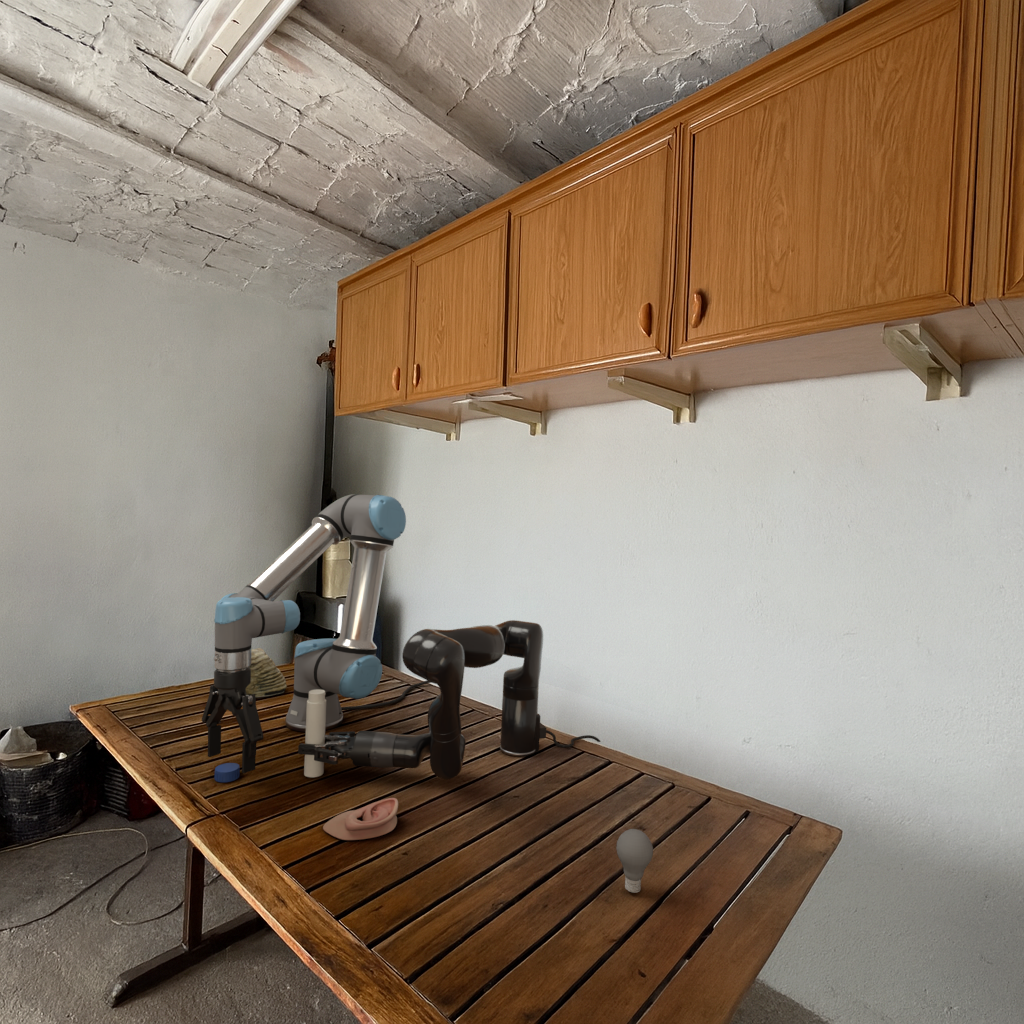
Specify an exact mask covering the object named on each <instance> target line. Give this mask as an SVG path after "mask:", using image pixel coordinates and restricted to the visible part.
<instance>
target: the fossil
mask: <svg viewBox="0 0 1024 1024" xmlns="http://www.w3.org/2000/svg"><path fill="white" fill-rule="evenodd" d="M249 667H250V668H251V683H250V684H249V685H248V686H247V687H246V694H247V695H252V694H255V697H256V698H264V697H271V696H275V695H281V694H284V693H285V691H286V689H287V687H288V686H287V680H286V678H285V676H284V674H283V673H282V672H281V669H279V668H278V667H277V665H276V663H275V662H274V660H273V659H272V658H271V657H270V656H269V655H268V654H267V653H266V652H265V650H264V649H263V648H260V647H258V648H251V665H250V666H249Z"/></svg>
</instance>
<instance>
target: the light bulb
mask: <svg viewBox="0 0 1024 1024" xmlns="http://www.w3.org/2000/svg"><path fill="white" fill-rule="evenodd" d="M615 849H616V854H617V857H618V859H619V861H620V863H621V865H622V867H623V873H624V874H623V875H624V876H625V878H624V888H625V890H627V891H628V892H630V893H634V894H635V893H639V892H640V891H641V889H642V887H641V886H642V879H643V877H644V875H645V871H646V868H647V867H648V866H649V864H650V863H651V861H652V859H653V855H654V847H653V843H652V841H651V838H649V836H648V835H647V834H646V833H645V832H643V831H642V830H641V829H636V828H629V829H627V830H625V831H623V832H622V833H621V834H620V835H619V837H618V839H617V841H616V847H615Z"/></svg>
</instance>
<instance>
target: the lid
mask: <svg viewBox="0 0 1024 1024" xmlns="http://www.w3.org/2000/svg"><path fill="white" fill-rule="evenodd" d="M240 775H241V766H240V764H238V763H236V762H225V763H221V764H219V765H217V766H215V769H214V776H213V777H214V781H215V782H218V783H230V782H233V781H236V780H238V779H239V778H240Z"/></svg>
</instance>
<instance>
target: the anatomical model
mask: <svg viewBox="0 0 1024 1024" xmlns="http://www.w3.org/2000/svg"><path fill="white" fill-rule="evenodd" d="M398 809H399V801H398V799H397V798H396V797H389V798H388V797H387V798H383V799H381V800H378V801H375V802H372V803H369V804H367V805H365V806H363V807H360V808H357V809H353V810H352V809H351V810H348V811H344V812H341V813H340V814H337V815H336V816H333V818H330V819H329V820H328V821H327V822H325V823H324V824H323V826H322V830H323V831H324V832H325V833H326V834H329V835H330V836H332V837H334V838H337V839H339V840H342V841H358V840H359V841H360V840H366V839H373V838H377V837H380V836H383V835H386V834H388V833H390V832H392V831H393V830H394V829H395V828H396V826H397V824H398V817H397V813H398Z"/></svg>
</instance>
